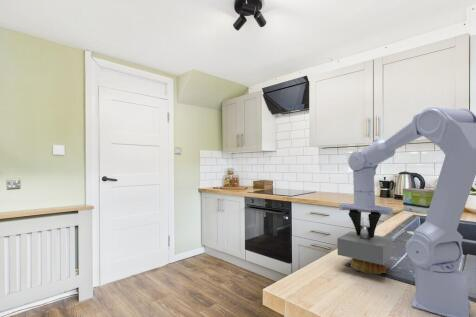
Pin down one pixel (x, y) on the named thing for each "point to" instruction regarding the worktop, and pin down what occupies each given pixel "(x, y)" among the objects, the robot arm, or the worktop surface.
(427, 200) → the tea box
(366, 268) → the pastry
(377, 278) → the worktop surface
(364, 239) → the cover
